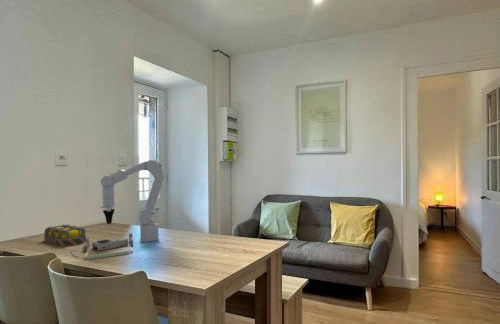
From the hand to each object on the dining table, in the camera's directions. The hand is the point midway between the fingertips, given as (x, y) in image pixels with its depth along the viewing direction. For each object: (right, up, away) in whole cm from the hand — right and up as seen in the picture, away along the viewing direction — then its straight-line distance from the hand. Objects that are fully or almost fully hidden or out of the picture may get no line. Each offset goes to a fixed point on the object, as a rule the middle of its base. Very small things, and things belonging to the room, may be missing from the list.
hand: (109, 223), depth 172 cm
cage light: (-28, -12, +7) cm, 31 cm away
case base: (+4, -10, -9) cm, 14 cm away
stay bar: (-6, -11, -23) cm, 26 cm away
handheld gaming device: (+5, -11, -10) cm, 16 cm away
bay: (+11, -10, -24) cm, 28 cm away
